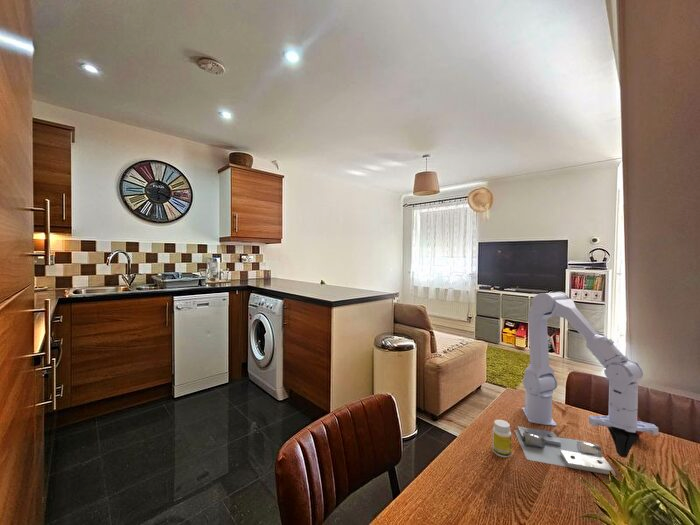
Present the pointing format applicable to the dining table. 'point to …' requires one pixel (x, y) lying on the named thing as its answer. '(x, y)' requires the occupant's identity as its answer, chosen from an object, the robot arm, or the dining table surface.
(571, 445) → the mat
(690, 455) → the dining table surface
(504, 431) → the supplement bottle
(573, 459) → the loose leaf
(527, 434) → the fixed leaf
